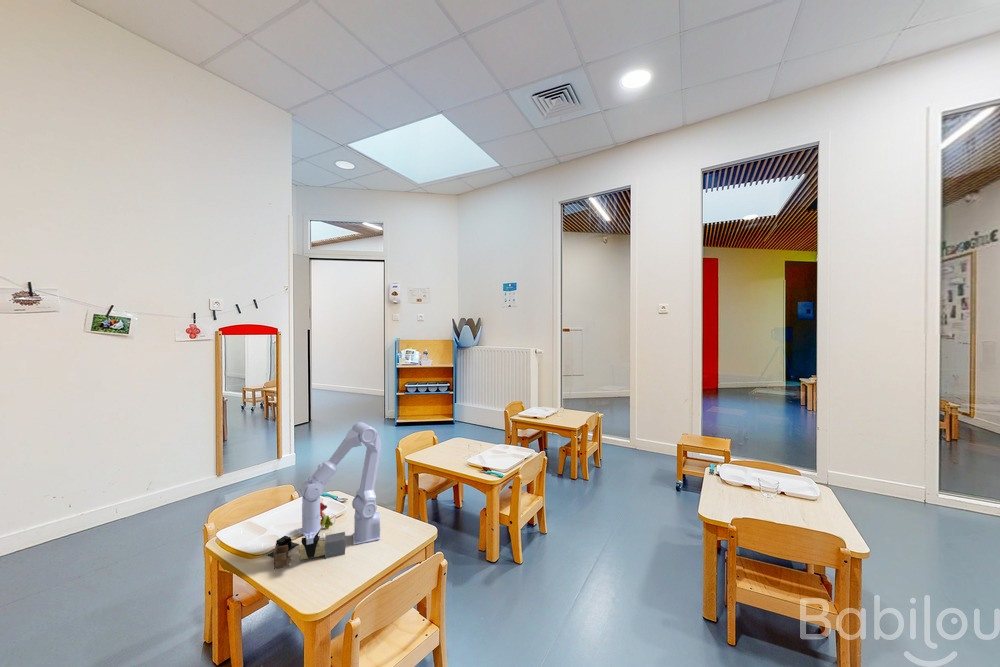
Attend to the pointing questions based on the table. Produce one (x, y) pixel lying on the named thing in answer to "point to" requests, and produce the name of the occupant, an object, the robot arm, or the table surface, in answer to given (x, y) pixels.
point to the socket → (281, 557)
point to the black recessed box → (284, 541)
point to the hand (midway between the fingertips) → (311, 553)
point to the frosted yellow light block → (318, 552)
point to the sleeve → (335, 545)
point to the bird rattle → (324, 517)
